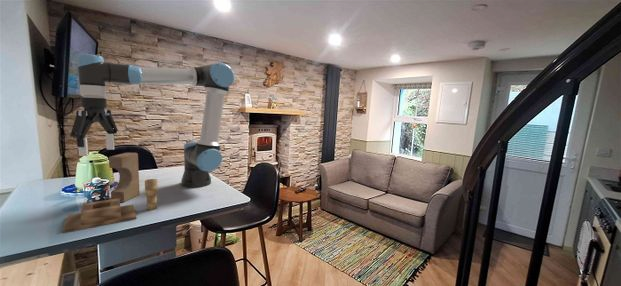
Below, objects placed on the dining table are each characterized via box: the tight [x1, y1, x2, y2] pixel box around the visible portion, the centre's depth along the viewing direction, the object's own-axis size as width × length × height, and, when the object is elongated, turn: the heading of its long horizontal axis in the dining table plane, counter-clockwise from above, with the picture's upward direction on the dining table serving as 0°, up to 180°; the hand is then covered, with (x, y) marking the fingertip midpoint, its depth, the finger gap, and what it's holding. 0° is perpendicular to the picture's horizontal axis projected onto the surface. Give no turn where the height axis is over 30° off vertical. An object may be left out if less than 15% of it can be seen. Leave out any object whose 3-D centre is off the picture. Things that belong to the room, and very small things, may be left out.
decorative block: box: [108, 152, 140, 204], centre depth 115 cm, size 11×6×20 cm, turn 179°
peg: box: [144, 178, 159, 211], centre depth 105 cm, size 4×4×12 cm
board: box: [62, 198, 137, 234], centre depth 95 cm, size 20×14×5 cm
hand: (98, 152), depth 100 cm, fingers open, 13 cm apart
